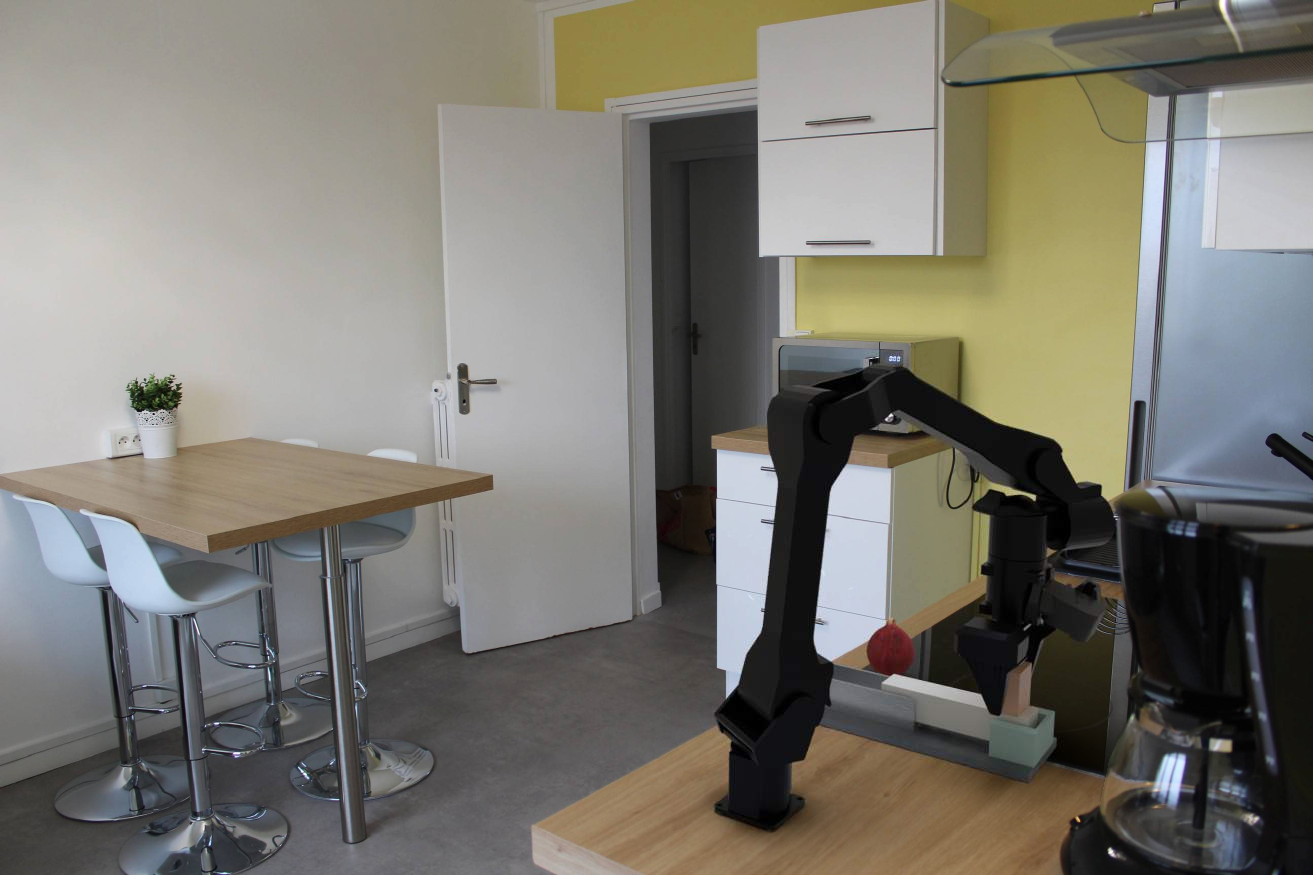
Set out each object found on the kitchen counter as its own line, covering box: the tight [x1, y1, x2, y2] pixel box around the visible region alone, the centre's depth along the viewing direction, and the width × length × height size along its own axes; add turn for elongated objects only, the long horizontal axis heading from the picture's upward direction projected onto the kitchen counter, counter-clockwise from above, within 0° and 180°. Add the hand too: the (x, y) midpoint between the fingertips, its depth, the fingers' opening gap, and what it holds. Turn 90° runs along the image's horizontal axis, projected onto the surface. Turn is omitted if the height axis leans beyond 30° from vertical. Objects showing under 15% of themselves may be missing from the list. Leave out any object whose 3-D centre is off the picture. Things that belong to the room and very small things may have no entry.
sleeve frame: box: [819, 662, 1058, 784], centre depth 111 cm, size 10×26×4 cm, turn 54°
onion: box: [866, 617, 915, 676], centre depth 126 cm, size 6×6×8 cm
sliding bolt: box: [881, 661, 1039, 740], centre depth 109 cm, size 4×16×8 cm, turn 54°
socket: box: [989, 704, 1056, 768], centre depth 105 cm, size 7×4×4 cm, turn 144°
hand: (1009, 700), depth 105 cm, fingers open, 9 cm apart
